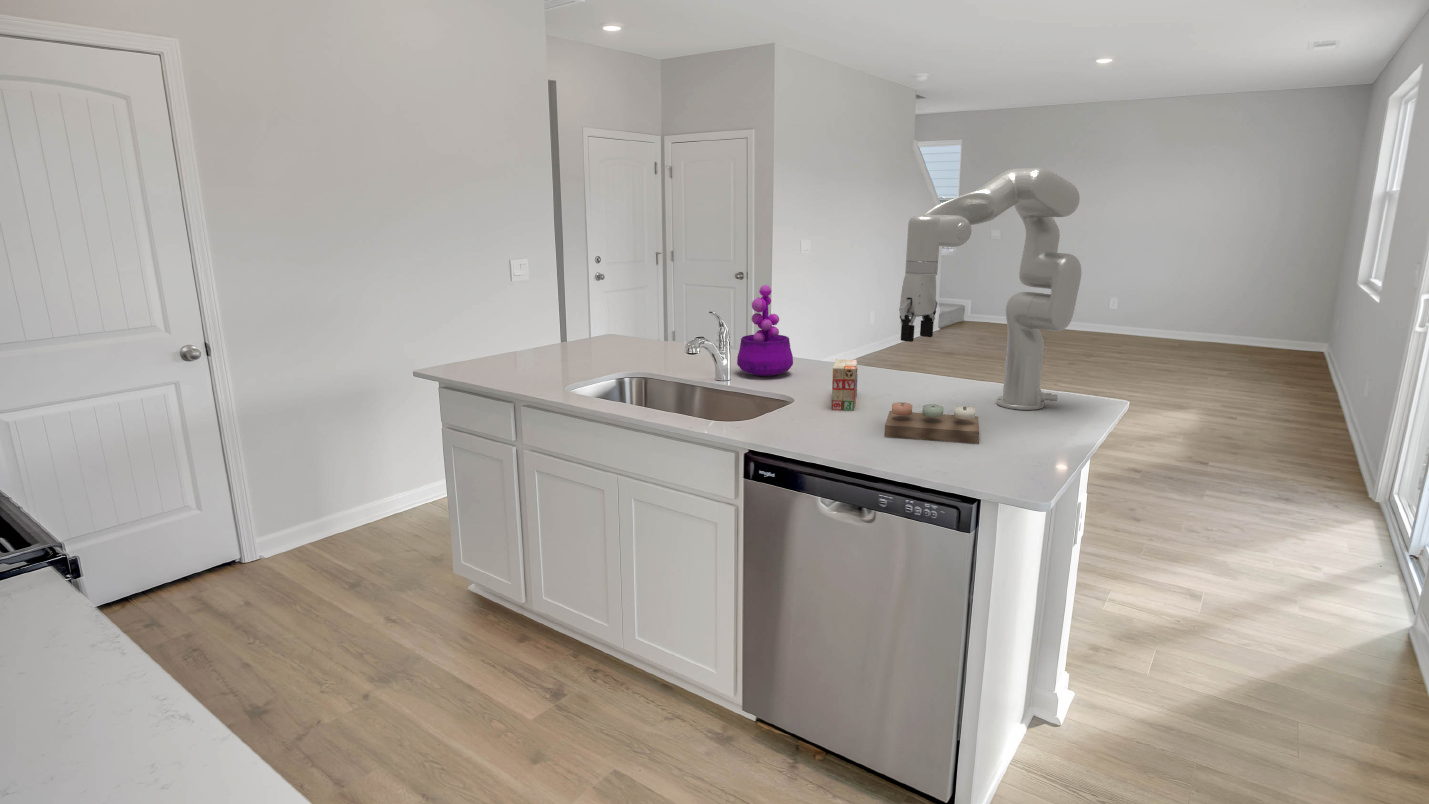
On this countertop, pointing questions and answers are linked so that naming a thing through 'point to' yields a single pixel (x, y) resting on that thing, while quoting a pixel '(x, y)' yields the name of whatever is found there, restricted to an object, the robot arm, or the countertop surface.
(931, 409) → the sage button
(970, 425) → the button board
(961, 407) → the cream button
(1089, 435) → the countertop surface
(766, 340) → the decorative plant
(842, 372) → the stack of blocks
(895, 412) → the terracotta button
